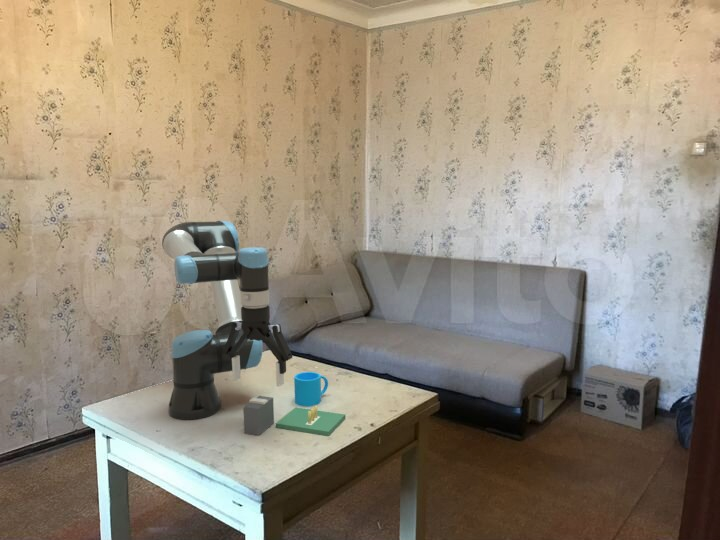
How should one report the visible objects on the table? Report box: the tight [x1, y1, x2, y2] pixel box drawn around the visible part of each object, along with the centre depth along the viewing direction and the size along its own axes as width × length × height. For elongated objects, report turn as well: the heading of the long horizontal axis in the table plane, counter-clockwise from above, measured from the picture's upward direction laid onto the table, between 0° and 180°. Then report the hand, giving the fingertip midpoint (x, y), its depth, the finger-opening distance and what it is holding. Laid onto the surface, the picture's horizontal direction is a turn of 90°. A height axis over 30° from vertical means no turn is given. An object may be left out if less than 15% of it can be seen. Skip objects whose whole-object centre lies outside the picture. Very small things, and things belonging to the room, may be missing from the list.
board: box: [275, 405, 346, 437], centre depth 153 cm, size 16×12×5 cm
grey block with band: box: [242, 395, 275, 437], centre depth 150 cm, size 4×8×8 cm, turn 160°
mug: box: [293, 371, 329, 407], centre depth 170 cm, size 12×8×8 cm
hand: (258, 382), depth 148 cm, fingers open, 13 cm apart
